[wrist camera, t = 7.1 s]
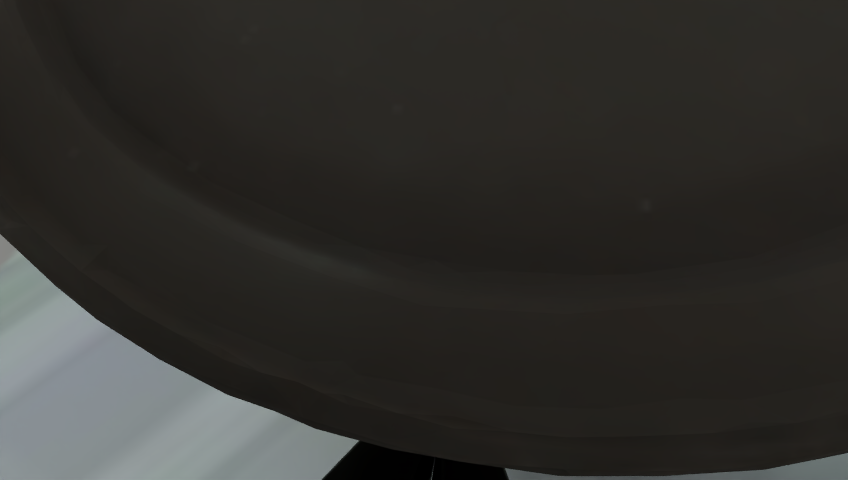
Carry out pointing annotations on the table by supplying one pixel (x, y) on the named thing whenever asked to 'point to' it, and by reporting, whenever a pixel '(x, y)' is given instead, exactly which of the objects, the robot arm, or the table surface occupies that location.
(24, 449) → the table surface
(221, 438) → the table surface
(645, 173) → the coffee can
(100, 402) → the table surface
